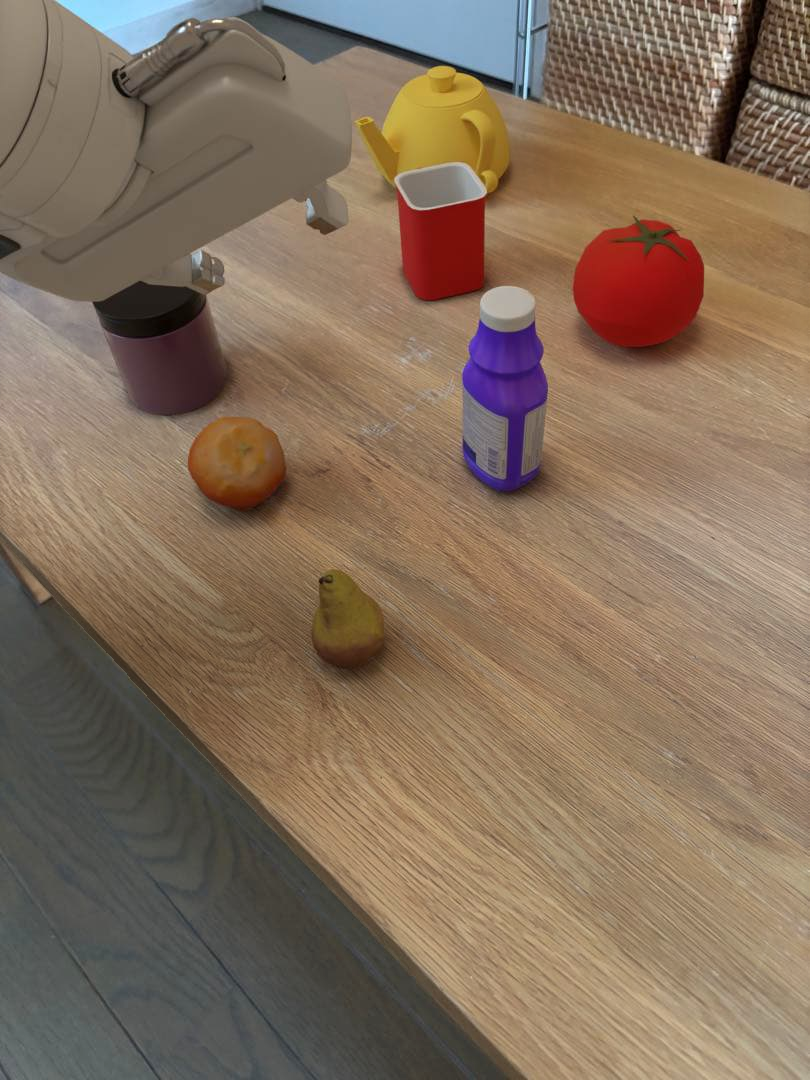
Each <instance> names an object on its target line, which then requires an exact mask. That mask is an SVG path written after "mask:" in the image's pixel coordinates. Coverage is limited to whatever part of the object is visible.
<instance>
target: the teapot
mask: <svg viewBox="0 0 810 1080" xmlns="http://www.w3.org/2000/svg"><path fill="white" fill-rule="evenodd" d="M354 125H355V127H356V129H357V131H358V133H359V135H360V137H361V139H362V141H363V143H364V145H365V147H366V149H367V151H368V153H369V155H370V157H371V159H372V161H373V163H374V165H375V167H376V169H377V171H379V172H380V173H381V174H382V176H383V178H385V180H386V181H387V182H388V183H389V184H390V185H391V186H392V187H393V188H394V189H396V186H395V183H394V178H395V177H396V176H397V175H398V174H400V173H403V172H406V171H411V170H416V169H417V168H421V167H422V168H426V167H431V166H436V165H441V164H445V163H450V162H462V163H466V164H468V165H469V166H470V167H471V168H472V169H473V171H474V172H475V173H476V175H477V176H478V178H479V179H480V180H481V182H482V183H483V184H484V186H485V187H486V188H487V194H489V193H492V192H494V191H495V190H496V189H497V188H498V186H499V179H501V177H502V176H503V175H504V174H505V172H506V171H507V168H508V166H509V164H510V161H511V143H510V137H509V132H508V129H507V126H506V123H505V119H504V118H503V115H502V113H501V112H500V109H499V107H498V105H497V104H496V102H495V100H494V99H493V97H492V96H491V93H489V91H488V90H487V88H486V87H485V85H484V84H483V83H482V82H481V81H480V80H479V79H478V78H476V77H474V76H472V75H470V74H467V73H464V72H463V73H461V72H457V70H456V68H454V67H452V66H449V65H438V66H437V65H436V66H434V67H432V68H430V69H428V70H427V72H426V74H422V75H420V76H419V75H418V76H417V77H415V78H412V79H410V80H409V81H408V82H406V83H405V84H404V85H403V87H402V88H401V89H400V91H399V92H398V94H397V96H396V97H395V99H394V101H393V103H392V104H391V107H390V109H389V111H388V113H387V114H386V117H385V120H384V122H383V125H382V129H381V130H379V129H380V128H378V126H377V125H376V123H375V120H374V119H373V118H372V117H370V116H369V115H368V116H365V117H362V118H358V119H356V120H354Z"/></svg>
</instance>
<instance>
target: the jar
mask: <svg viewBox="0 0 810 1080" xmlns="http://www.w3.org/2000/svg"><path fill="white" fill-rule="evenodd" d="M207 295H208V294H206V295H205V302H204V305H203V307H202V308H201V310H200V311H199V312H198V314H197V315H196V316H195V317H193V318H192V319H191V320H190V321H188V322H187V323H185V324H183V325H182V326H180V327H178V328H176V329H173V330H171V331H168V332H165V333H161V334H157V335H152V336H144V337H132V336H124V335H119V334H116V333H114V332H111V331H110V330H108V329H106V328H105V327H104V326H103V325H102V324H101V322H100V320H99V319H98V322H99V324H100V327H101V330H102V331H103V334H104V338H105V340H106V342H107V344H108V347H109V349H110V352H111V354H112V357H113V359H114V362H115V365H116V367H117V370H118V372H119V374H120V377H121V380H122V383H123V385H124V387H125V391H126V393H127V395H128V398H129V399H130V402H132V404H133V405H134V406H136V408H138V409H140V410H141V411H144V412H146V413H149V414H153V415H158V416H159V415H160V416H174V415H181V414H185V413H189V412H192V411H195V410H198V409H200V408H201V407H204V406H205V405H207V404H209V403H210V402H212V401H213V400H214V399H216V397H218V396H219V395H220V394H221V393H222V391H223V390H224V388H225V387H226V384H227V382H228V376H229V375H228V374H229V372H228V369H227V365H226V361H225V357H224V354H223V350H222V346H221V342H220V340H219V339H220V338H219V336H218V331H217V328H216V324H215V321H214V318H213V314H212V310H211V307H210V303H209V299H208V296H207Z"/></svg>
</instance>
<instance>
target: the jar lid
mask: <svg viewBox="0 0 810 1080" xmlns="http://www.w3.org/2000/svg"><path fill="white" fill-rule="evenodd" d="M204 302H205V295H203V294H201V293H199V292H197V291H194V290H192V289H190V288H188V287H186V286H184V287H178V286H164V285H150V284H147V283H145V282H143V281H138V282H136V283H134V284H133V285H131V286H129V287H127V288H125V289H123V290H122V291H120V292H118V293H116V294H114V295H112V296H111V297H109V298H107V299H105V300H103V301H98V302H91V303H92V305H93V308H94V310H95V313H96V315H97V318H98V321H99V320H100V322H101V324H102V325H103V326H104V327H105V328H106V329H108V330H110V331H111V332H114V333H116V334H119V335H124V336H132V337H144V336H152V335H157V334H161V333H165V332H168V331H171V330H173V329H176V328H178V327H180V326H182V325H183V324H185V323H187V322H188V321H190V320H191V319H192V318H193V317H195V316H196V315H197V314H198V312H199V311H200V310H201V308H202V307H203V305H204ZM100 322H99V323H100ZM101 324H100V325H101Z"/></svg>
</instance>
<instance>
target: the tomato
mask: <svg viewBox="0 0 810 1080" xmlns="http://www.w3.org/2000/svg"><path fill="white" fill-rule="evenodd" d="M632 217H633V219H634V221H635V222H634V223H632V224H630V225H628V226H625V227H614V228H608V229H604V230H601V232H599V234H598V235H597V236H595V237H594V238H593V239H592V240H591V241H590V242H589V244H587V245H586V246H585V247H584V249H583V252H582V254H581V256H580V258H579V259H578V262H577V264H576V266H575V268H574V275H573V282H572V294H573V295H572V296H573V301H574V304H575V306H576V309H577V311H578V313H579V315H580V316H581V317H582V319H583V320H584V321H585V323H586V324H587V325H588V326H589V327H590V329H591V330H592V331H593V332H594V333H595V334H596V335H598V336H599V337H600V338H601V339H603V340H604V341H606V342H607V343H609V344H612V345H616V346H618V347H621V348H622V347H623V348H626V347H627V348H641V347H647V346H653V345H658V344H662V343H665V342H667V341H669V340H670V339H672V338H673V337H676V336H677V335H680V333H682V332H683V331H684V330H686V329H687V328H688V327H689V326H690V325H691V324H692V322H693V321H694V320H695V318H696V317H697V314H698V312H699V309H700V308H701V304H702V301H703V299H704V295H705V294H704V293H705V292H704V291H705V290H704V289H705V264H704V260H703V257H702V255H701V254H700V252H699V250H698V249H697V247H696V246H695V244H694V243H693V241H692V240H691V239H688V238H685V237H682V236H681V235H680V234H679V233H678V232H680V231H681V229H675V228H674V226H672V225H671V224H668V223H666V222H662V221H659V220H656V219H655V220H653V219H638V218H637V217H636V216H635V215H632Z"/></svg>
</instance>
